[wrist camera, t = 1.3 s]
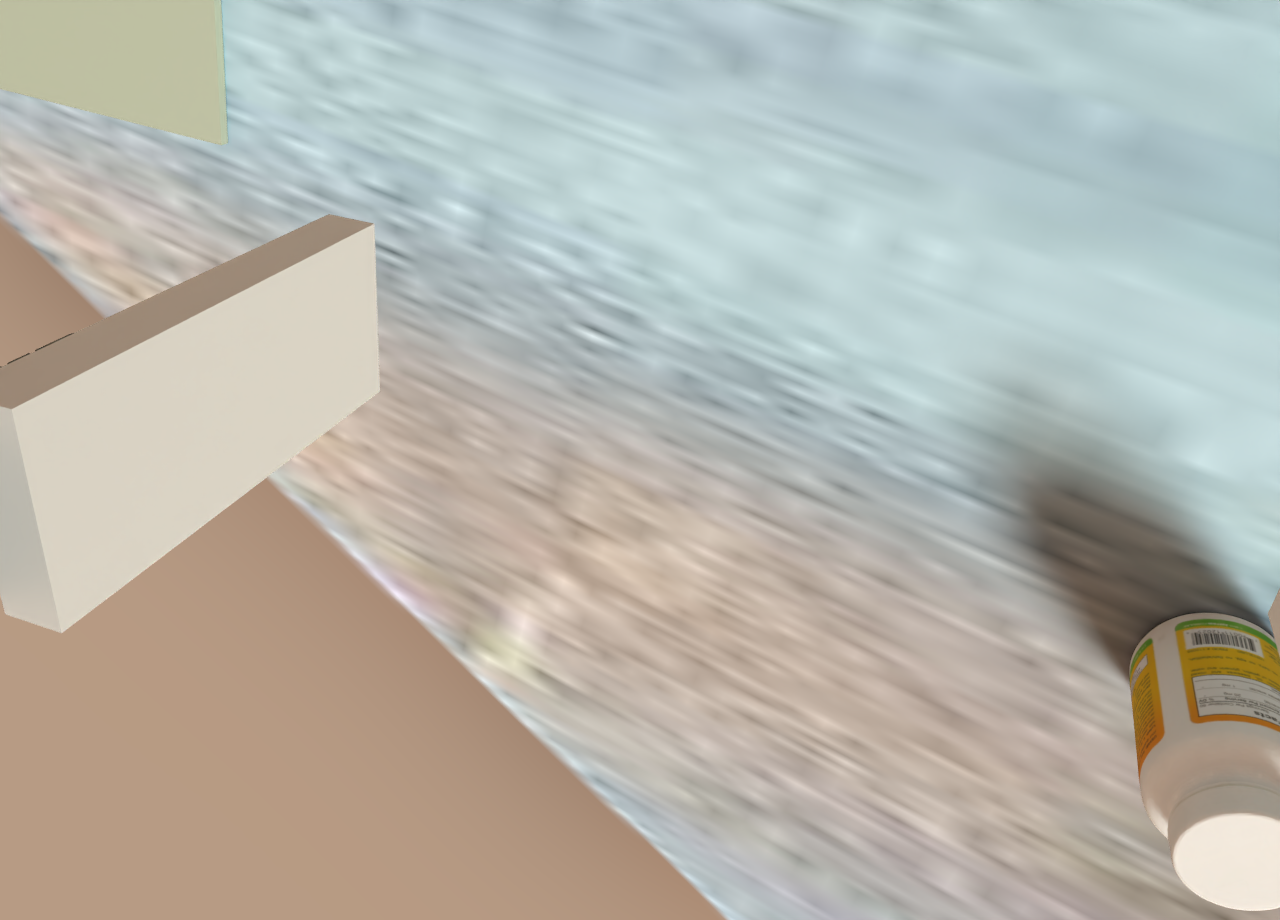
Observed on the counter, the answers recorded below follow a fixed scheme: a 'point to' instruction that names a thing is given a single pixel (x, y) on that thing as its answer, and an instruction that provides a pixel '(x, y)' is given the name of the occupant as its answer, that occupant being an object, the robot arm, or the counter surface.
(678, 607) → the counter surface
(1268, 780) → the supplement bottle
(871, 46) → the counter surface
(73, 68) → the mat
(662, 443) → the counter surface
